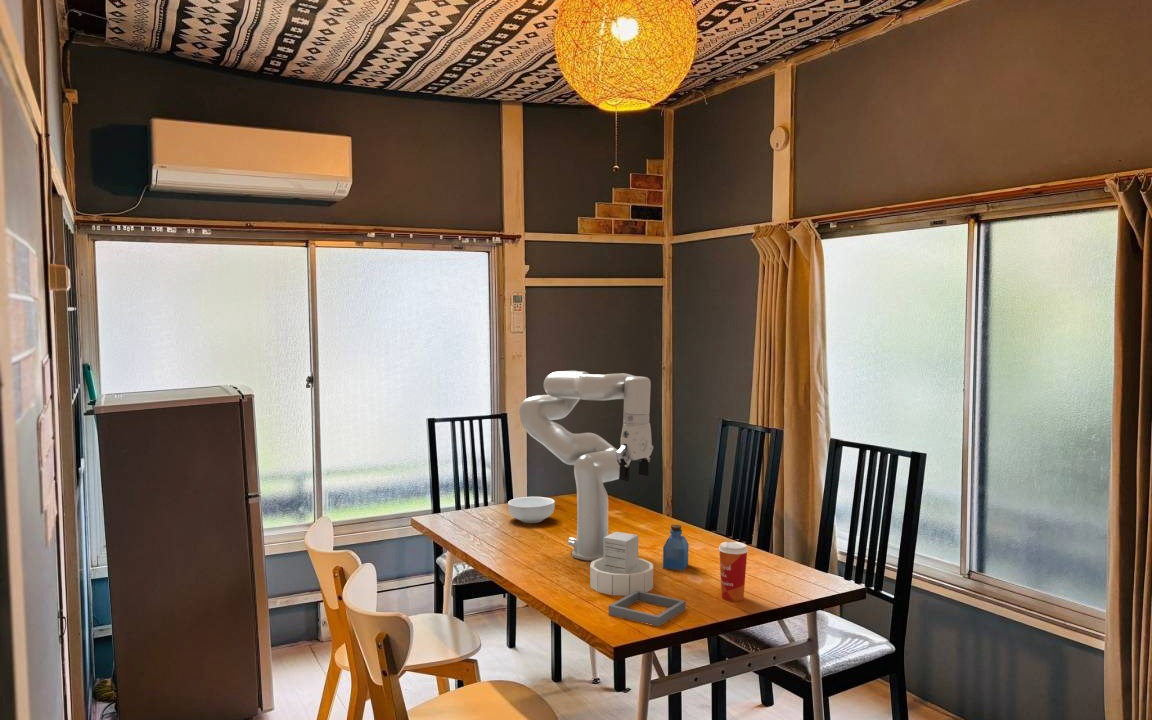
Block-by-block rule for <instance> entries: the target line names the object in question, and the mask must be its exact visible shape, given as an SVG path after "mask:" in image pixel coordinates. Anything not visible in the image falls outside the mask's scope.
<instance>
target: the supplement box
mask: <svg viewBox="0 0 1152 720" xmlns="http://www.w3.org/2000/svg"><path fill="white" fill-rule="evenodd" d="M638 558H639V535H638V534H634V533H633V534H632V533H626V532H621V531H613V532H612V533H610V534H608V536H606V537H604V538H603V571H604V572H609V573H613V574H632V573H638Z"/></svg>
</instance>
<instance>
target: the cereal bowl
mask: <svg viewBox="0 0 1152 720" xmlns="http://www.w3.org/2000/svg"><path fill="white" fill-rule="evenodd" d="M555 506H556V501H555V500H554V499H553V498H550V497H545V496H544V497H543V496H522V497H515V498H513V499H510V500H509V501H507V508H508V512H509V514H510V515H511V517H513V518H514V519H516V520H518V521H520V522H522V523H526V524H537V523H541V522H543V521H544V520H545V519H547V518H549V517H550V516H552V515H553V513H554V511H555Z"/></svg>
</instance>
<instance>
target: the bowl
mask: <svg viewBox="0 0 1152 720" xmlns="http://www.w3.org/2000/svg"><path fill="white" fill-rule="evenodd" d="M589 587H590V588H591V589H593V590H594V591H596V593H601V594H606V595H609V596H621V597H622V596H624V597H626V596H628V595H630V594H631V593H633V592H635V591H637V590H638V591H642V592H647V593H649V592H650V591H652V590H653V589H654V563H652V562H650V561H648V560H647V559H644V558H641V557H638V573H632V574H613V573H609V572H604V571H603V558H599V559H597V560H594V561H590V566H589Z"/></svg>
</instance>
